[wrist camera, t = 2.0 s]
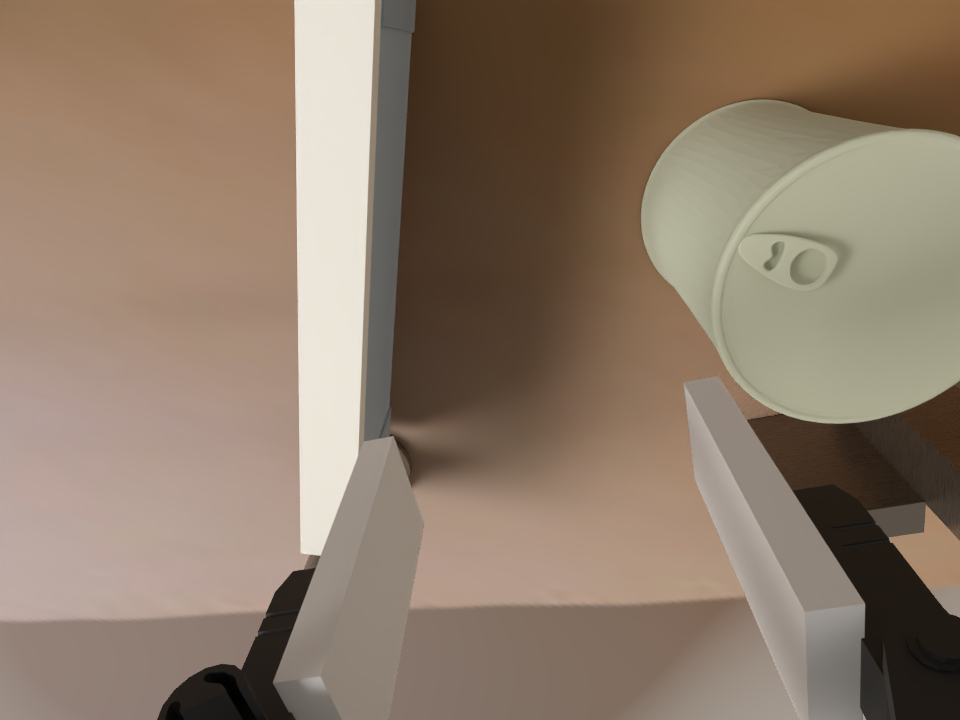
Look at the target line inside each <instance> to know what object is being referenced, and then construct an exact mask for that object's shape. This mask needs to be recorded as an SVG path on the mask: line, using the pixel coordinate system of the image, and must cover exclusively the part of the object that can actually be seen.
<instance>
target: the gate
mask: <svg viewBox="0 0 960 720" xmlns="http://www.w3.org/2000/svg"><path fill="white" fill-rule="evenodd" d="M415 13H416V0H295V84H296V173H297V262H298V351H299V440H300V529H301V553H302V554H311V555H319V556H321V553H322V551H323V548H324V545H325V543H326V540H327V538H328V535H329V532H330V530H331V527H332V524H333V522H334V519H335V516H336V514H337V511H338V508H339V506H340V503H341V500H342V498H343V495H344V492H345V490H346V487H347V484H348V482H349V479H350V476H351V474H352V471H353V468H354V466H355V463H356V461H357V458H358V455H359V453H360V450H361V447H362V445H363V442H364V441H369V440H375V439H380V438H386V437H390V422H391V407H389V406H390V390H391V373H392V356H393V339H394V323H395V306H396V289H397V272H398V256H399V239H400V222H401V206H402V189H403V172H404V155H405V139H406V122H407V105H408V88H409V72H410V55H411V38H412V32H414V30H415Z"/></svg>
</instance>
